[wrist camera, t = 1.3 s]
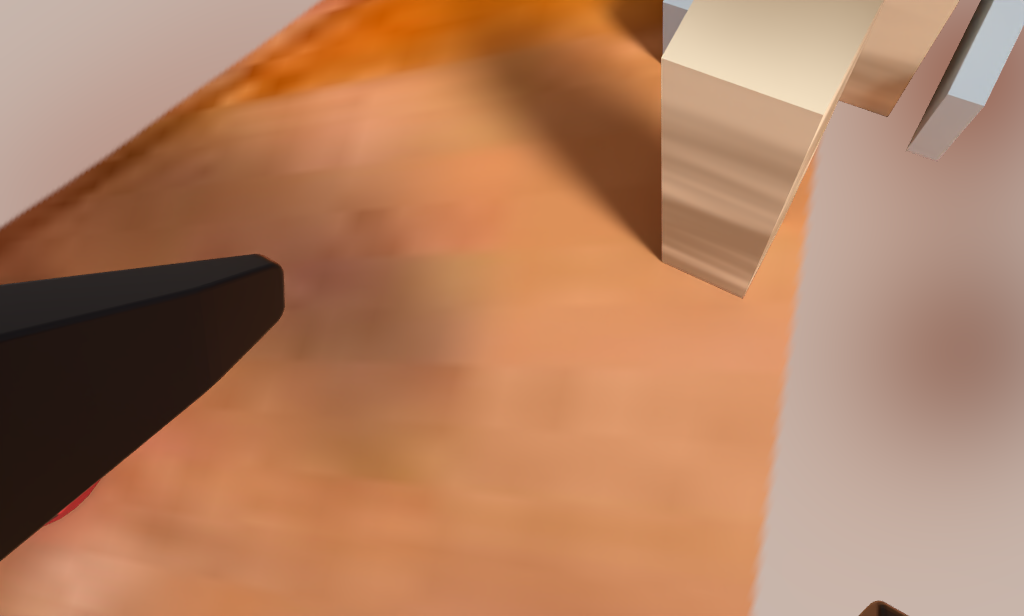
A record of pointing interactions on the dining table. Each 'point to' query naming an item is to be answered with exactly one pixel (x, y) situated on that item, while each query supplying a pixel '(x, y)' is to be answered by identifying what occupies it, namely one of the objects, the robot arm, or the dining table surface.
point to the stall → (964, 82)
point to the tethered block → (768, 113)
